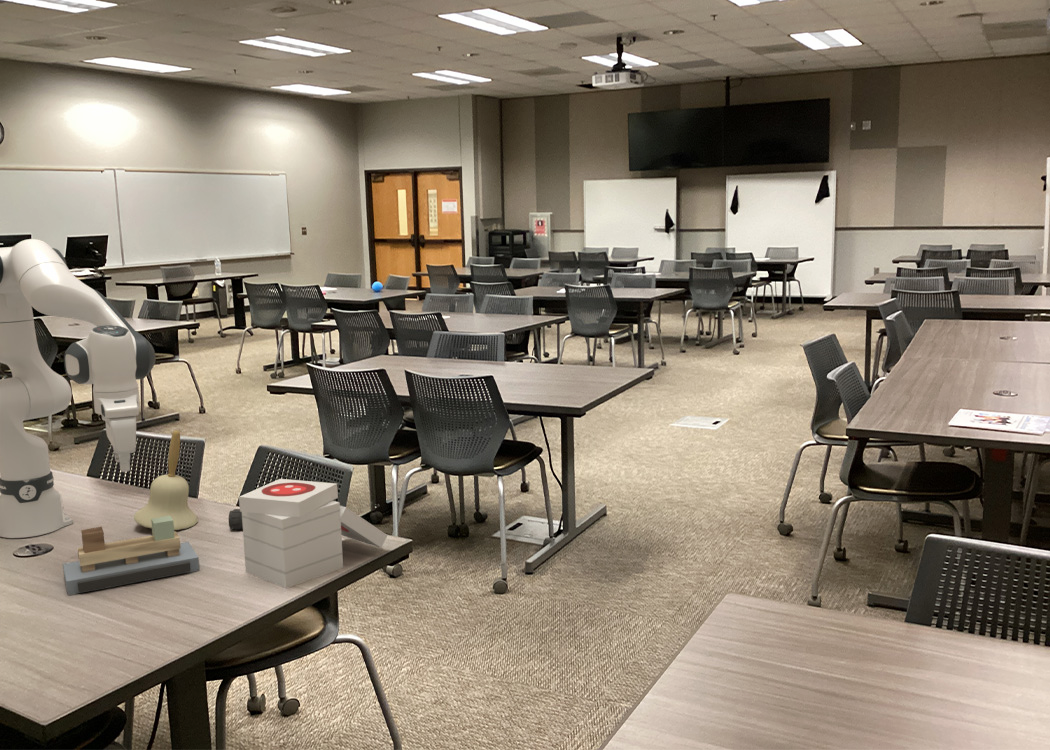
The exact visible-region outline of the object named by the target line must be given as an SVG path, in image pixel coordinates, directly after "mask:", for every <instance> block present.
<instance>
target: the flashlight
mask: <svg viewBox="0 0 1050 750" xmlns="http://www.w3.org/2000/svg"><path fill="white" fill-rule="evenodd" d="M228 526H229V527H228V528H229V529H230V530H233V531H241V530H242V531H243V523H242V512H241V511H240V508H237V509H236V508H235V509H233V510H230V511H229V514H228Z"/></svg>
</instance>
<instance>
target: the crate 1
mask: <svg viewBox="0 0 1050 750" xmlns="http://www.w3.org/2000/svg"><path fill="white" fill-rule="evenodd" d="M80 533H81V542H82V543H81V544H82V547H83V550H84V553H89V552H95V551H101V550H105V543H106V542H105V533H104V529H103V527H102V526H97V527H92V528H91V527H90V528H83V529H81V530H80Z"/></svg>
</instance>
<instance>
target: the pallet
mask: <svg viewBox="0 0 1050 750" xmlns="http://www.w3.org/2000/svg"><path fill="white" fill-rule="evenodd" d="M174 536H175V538H171V539H165V540H159V541H155V540H154V538H153V535H147V536H141V537H134V538H130V539H122V540H115V541H111V542H105V550H101V551H95V552H89V553H84V550H83V546H82V547H80V546H79V547H77V555H78V557H77V558H78V561H79V562H80V566H81V568H82V572H87V571H93V570H95V564H96V563H102V562H107V561H113V560H118V559H124V560H125V563H126V564H132V563H137V562H138V556H141V555H147V554H152V553H158V552H164V551H165V552H166V554H167V556H168V557H170V556H176V555H179V549H181V546H180V543H181V538H180V536H179V534H178V532H177V531H174Z"/></svg>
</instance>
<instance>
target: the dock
mask: <svg viewBox="0 0 1050 750" xmlns="http://www.w3.org/2000/svg"><path fill="white" fill-rule="evenodd" d="M190 543H191V542H190V541H186V542H185V541H184V542H180V546H181V549H179V555H176V556H170V557H168V556H167V554H166V552H165V551H164V552H158V553H152V554H147V555H141V556H138V562H137V563H132V564H126V563H125V560H124V559H118V560H113V561H107V562H102V563H96V564H95V570H93V571H87V572H82V568H81V566H80V562H79V560H76V561H71V562H66V563H64V562H63V563H62V569H63V578H64V583H65V589H66V593H67V596H70V595H71V596H72V595H77V594H81V593H87V592H92V591H93V592H94V591H98V590H103V589H108V588H113V587H114V588H115V587H119V586H124V585H125V586H126V585H130V584H134V583H140V582H144V581H145V582H146V581H150V580H156V579H160V578H167V577H171V576H172V577H173V576H176V575H177V576H178V575H181V574H187V573H192V572H197V571H200V559H199V555H198V554H197V553H196V551H195V550H194V548H193V546H192V545H191V544H190Z"/></svg>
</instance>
